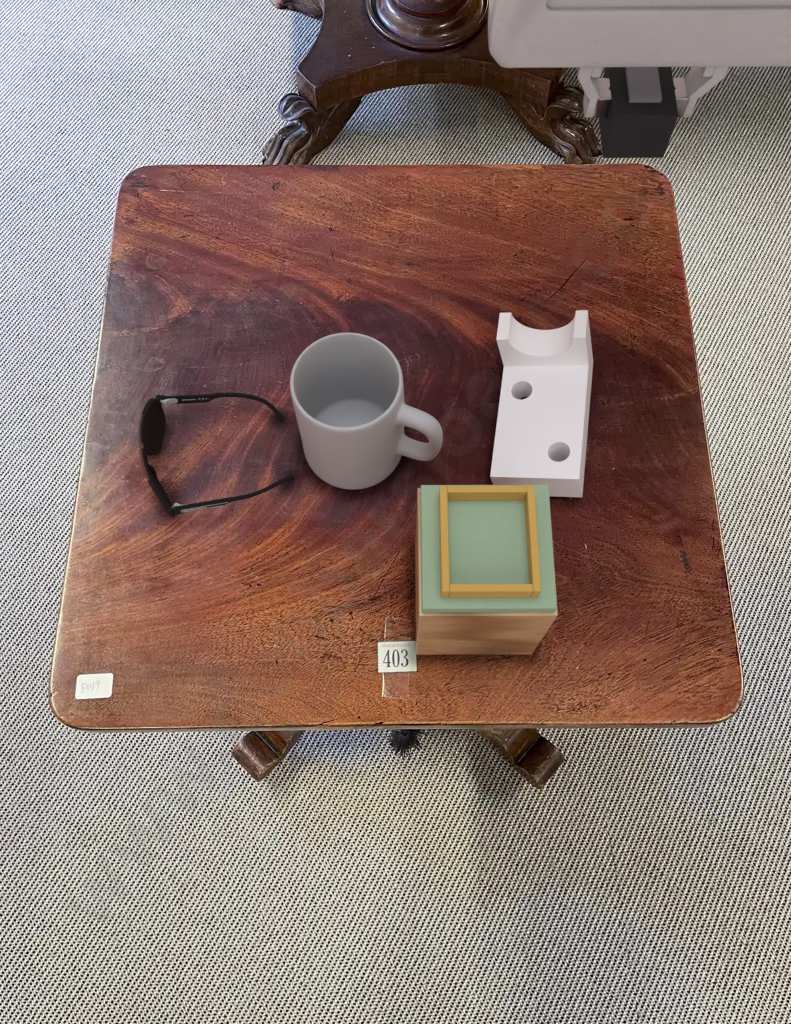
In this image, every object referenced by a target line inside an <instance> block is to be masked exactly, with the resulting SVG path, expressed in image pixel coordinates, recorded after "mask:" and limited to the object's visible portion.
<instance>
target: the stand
mask: <svg viewBox="0 0 791 1024" xmlns="http://www.w3.org/2000/svg"><path fill="white" fill-rule="evenodd" d="M416 494H417V495H416V513H415V516H416V517H415V535H414V536H415V538H414V568H415V569H414V570H415V571H414V574H415V575H414V577H415V578H414V583H415V584H414V585H415V586H414V587H415V588H414V589H415V590H414V591H415V655H416V656H418V655H419V656H423V655H424V656H427V655H428V656H430V655H431V656H433V655H436V656H437V655H438V656H439V655H441V656H443V655H444V656H445V655H455V656H456V655H457V656H458V655H459V656H460V655H461V656H462V655H463V656H464V655H465V656H467V655H468V656H469V655H470V656H472V655H477V656H478V655H479V656H480V655H483V656H484V655H486V656H487V655H489V656H490V655H495V656H497V655H533V654H534V652H535V650H536V649H537V647H538V646H539V644H540V643H541V641H542V640H543V639H544V637H545V635H546V634H547V633H548V631H549V630H550V627H552V625H553V624H554V622H555V620H556V619H557V617H558V616H559V611H558V610H559V609H558V608H557V609H556V611H555V612H422V570H421V487H418V488H417V492H416ZM550 497H551V496H549V500H550V501H551V498H550ZM550 514H551V515H552V513H551V510H550ZM552 526H553V525H552V524H551V528H552V529H553V527H552ZM552 542H553V543H554V541H553V538H552ZM553 556H554V557H555V554H554V552H553ZM555 567H556V566H554V570H555V569H556V568H555ZM555 571H556V570H555ZM556 582H557V581H556V580H555V584H556ZM556 598H557V599H558V595H557V594H556Z"/></svg>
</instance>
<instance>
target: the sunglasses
mask: <svg viewBox="0 0 791 1024" xmlns="http://www.w3.org/2000/svg"><path fill="white" fill-rule="evenodd" d="M219 398H240V399H248V400H251V401H252V400H253V401H256V402H260V403H262V404H264V405H265V406H267V407H268V408H269V409H270V410H271V411H272V412H273V413H274V415H275V417H276V419H277V420H278V421H279V422H284V420H285V416H283V414H282V412H280V410H279V409H278V408H276V406H275V405H274V404H272V403H271V402H270V401H269V400H267V399H265V398H263V397H261V396H257V395H254V394H250V393H245V392H235V391H233V392H230V391H229V392H227V391H226V392H214V393H204V394H181V395H179V394H178V395H164V394H156V395H155V397H151V398H149V399H148V401H146V403H145V405H144V407H143V409H142V411H141V414H140V418H139V423H138V431H137V432H138V436H137V437H138V448H139V456H140V463H141V467H142V470H143V474H144V476H145V479H146V481H147V482H148V484H149V486H150V488H151V490H152V491H153V493H154V495H155V496H156V497H157V499H158V500H159V502H160V503H161V505H162V506H163V508H164V509H165V510H166V511H167V513H168V514H169V515H170V516H171V518H173V519H174V518H175V517H176V516H177V515H181V514H182V515H183V514H185V513H190V512H194V511H201V510H206V509H212V508H213V509H214V508H218V507H223V506H226V505H228V504H230V503H233V502H237V501H243V500H247V499H251V498H254V497H257V496H259V495H262V494H264V493H266V492H268V491H270V490H272V489H274V488H276V487H278V486H280V485H282V484H285V483H288V484H289V483H290V482H292V481H293V479H294V478H295V475H293V474H290V475H287V476H286V477H283V478H280V479H278V480H277V481H275V482H273V483H271V484H269V485H268V486H265V487H262V488H260V489H259V490H256V491H253V492H250V493H246V494H242V495H241V494H240V495H236V496H229V497H222V498H218V499H216V498H215V499H211V500H205V501H204V500H203V501H199V502H194V503H186V504H180V503H178V502H174V503H173V505H172V504H171V503H172V502H171V501H170V499H169V497H168V494H167V492H166V490H165V488H164V486H163V485H162V483H161V481H160V480H159V478H158V474H157V471H156V469H155V468H154V466H153V465H151V464H150V463H149V458H148V457H150V456H151V457H152V456H153V457H154V456H157V455H158V454H159V453H160V452H161V451H162V447H163V443H164V436H165V430H166V423H167V418H166V414H165V411H164V408H163V406H164V407H165V408H166V407H168V406H169V405H186V404H204V403H210V402H211V401H213V400H215V399H219Z"/></svg>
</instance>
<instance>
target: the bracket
mask: <svg viewBox="0 0 791 1024" xmlns="http://www.w3.org/2000/svg"><path fill="white" fill-rule="evenodd" d="M498 316H499V317H498V324H497V332H496V338H495V340H496V343H497V347H498V351H499V355H500V358H501V362H502V365H503V370H502V378H501V386H500V393H499V394H500V395H499V402H498V408H497V409H498V410H497V417H496V426H495V434H494V441H493V450H492V458H491V466H490V473H489V474H490V475H489V478H490V480H491V483H492V485H548V486H549V497H559V498H583V494H584V482H585V471H586V470H585V469H586V458H587V445H588V435H589V419H590V407H591V394H592V382H593V372H594V355H593V347H592V336H591V327H590V319H589V318H590V317H589V310H588V309H580V310H575V312H574V317H573V319H572V320H571V321H570V322H569V323H568V324H565V325H564V326H561V327H557V328H553V329H538V328H534V327H533V328H532V327H530V326H526V325H524V324H522V323H520V322H519V321H518V320H517V319H515V317H514V316H513V313H512V312H511V311H510V312H499V315H498ZM522 398H523V399H522Z"/></svg>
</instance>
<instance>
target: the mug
mask: <svg viewBox="0 0 791 1024" xmlns="http://www.w3.org/2000/svg"><path fill="white" fill-rule="evenodd" d="M289 391H290V397H291V401H292V405H293V409H294V413H295V418H296V422H297V426H298V430H299V434H300V438H301V444H302V448H303V453H304V457H305V460H306V462H307V464H308V466H309V467H310V469H311V470H312V472H313V473H314V475H316V476H317V477H318V478H319V479H320V480H322V481H323V482H325V484H328V485H330V486H332V487H334V488H338V489H343V490H348V491H349V490H350V491H351V490H353V491H354V490H355V491H356V490H363V489H368V488H370V487H373V486H376V485H378V484H380V483H381V482H383V481H384V480H386V479H387V478H389V476H390V475H391V474H392V473H393V472H394V471H395V470H396V468H397V466H398V465H399V463H400V462H401V459H402V456H403V457H406V458H408V459H409V458H410V459H412V460H416V461H422V462H429V461H432V460H434V459H435V458H436V457H438V455H439V453H440V452H441V449H442V447H443V441H444V434H443V428H442V425H441V424H440V423H439V421H438V420H437V419H436V418H435V417H434V416H432V415H431V414H430V413H429V412H428V413H427V412H426V411H424V410H422V409H419V408H416V407H413V406H411V405H409V404H406V403H405V386H404V375H403V370H402V366H401V365H400V362H399V360H398V359H397V357H396V355H395V354H394V352H393V351H392V350H391V349H390V348H388V346H387V345H386V344H384V343H383V342H382V341H380V340H378V339H376V338H374V337H372V336H369V335H367V334H363V333H358V332H338V333H337V332H336V333H332V334H329V335H326V336H323V337H321V338H319V339H317V340H315V341H314V342H312V343H310V344H309V345H308V346H307V347H306V348H304V350H303V351H302V352H301V353H300V354H299V356H298V357H297V359H296V360H295V362H294V364H293V366H292V369H291V372H290V378H289ZM405 427H408V428H411V429H413V430H416V431H418V432H420V433H422V434H423V435H424V436H426V439H427V440H428V442H423V441H420V440H416V439H413V438H411V437H409V436H408V435H406V434H405Z"/></svg>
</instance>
